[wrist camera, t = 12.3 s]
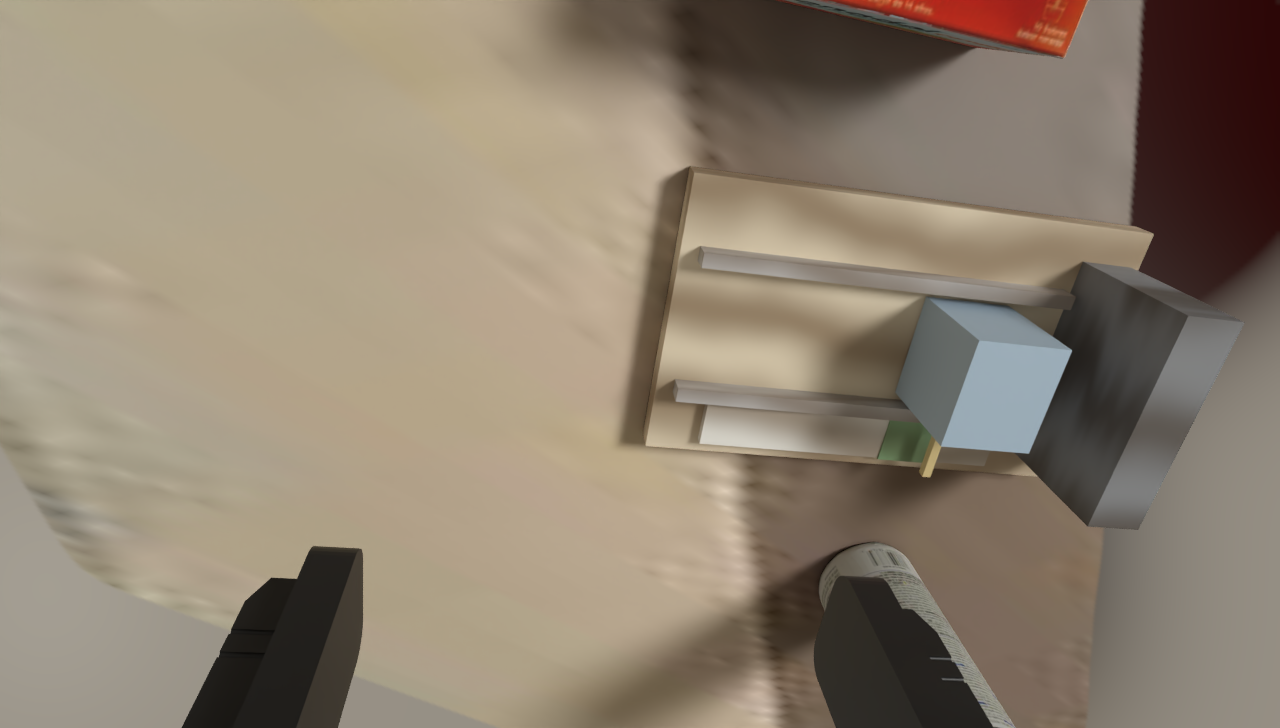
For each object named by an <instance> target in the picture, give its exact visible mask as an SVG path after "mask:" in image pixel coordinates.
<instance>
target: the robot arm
mask: <svg viewBox="0 0 1280 728" xmlns="http://www.w3.org/2000/svg"><path fill="white" fill-rule="evenodd" d="M362 628H363V553H362V550H361V549H358V548H339V547H320V546H313V547H312V548H311V549H310V551H309V553H308V555H307V557H306V560H305V562H304V564H303V566H302V569H301V571H300V573H299V576H298V578H297V579H286V578H271V579H270V580H268V581H267V582H266V583H265V584H264V585H263V586H262V587H261V588H259V589H258V590H257V591H256V592H255V593H254V594H253V595H251V596H250V597H249V598H248V599H247V600H246V601H245V602H244V604H243V606H242V608H241V610H240V612H239V614H238V616H237V618H236V620H235V622H234V624H233V626H232V628H231V634H229V635H228V637H227V638H226V640H225V643H224V644H223V646H222V648H221V650H220V655H219V657H217V659H216V660H215V663H214V664H213V666H212V668H211V670H210V672H209V674H208V676H207V678H206V680H205V682H204V684H203V686H202V688H201V690H200V692H199V694H198V696H197V698H196V700H195V702H194V704H193V706H192V708H191V710H190V712H189V714H188V716H187V718H186V720H185V722H184V724H183V726H182V728H338V725H339V722H340V718H341V715H342V711H343V708H344V704H345V701H346V698H347V694H348V691H349V687H350V683H351V680H352V677H353V673H354V670H355V667H356V663H357V659H358V655H359V650H360V644H361V637H362ZM814 666H815V672H816V676H817V679H818V682H819V684H820V687H821V690H822V692H823V695H824V698H825V700H826V703H827V705H828V708H829V711H830V713H831V716H832V718H833V721H834V724H835V726H836V728H994V727H993V726H992V724H991V722H990V721H989V719H988V717H987V716H986V714H985V712H984V710H983V709H982V707H981V705H980V704H979V702H978V700H977V699H976V697H975V695H974V694H973V692H972V690H971V689H970V687H969V685H968V684H967V683H964V677H963V675H962V674H961V672H960V670H959V669H958V667H957V665H956V663H955V662H952V660H951V655H950V653H949V652H948V650H947V648H946V647H945V645H944V643H943V642H942V640H941V638H940V637H939V635H938V633H937V632H936V631H935V630H934V629H933V628H932V627H931V626H930V625H929V624H928V623H927V622H926V621H925V620H923V619H922V618H921V617H920V616H919V615H918V614H917V613H916V612H915V611H914V610H913V609H902V607H901V605H900V604H899V602H898V600H897V598H896V597H895V595H894V593H893V591H892V589H891V588H890V586H889V584H888V583H887V582H886V580H884V579H883V578H879V577H860V576H839V577H838V578H837V579H836V581H835V582H834V585H833V588H832V591H831V594H830V597H829V600H828V603H827V606H826V609H825V612H824V615H823V619H822V622H821V625H820V628H819V631H818V634H817V637H816V641H815V646H814Z"/></svg>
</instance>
